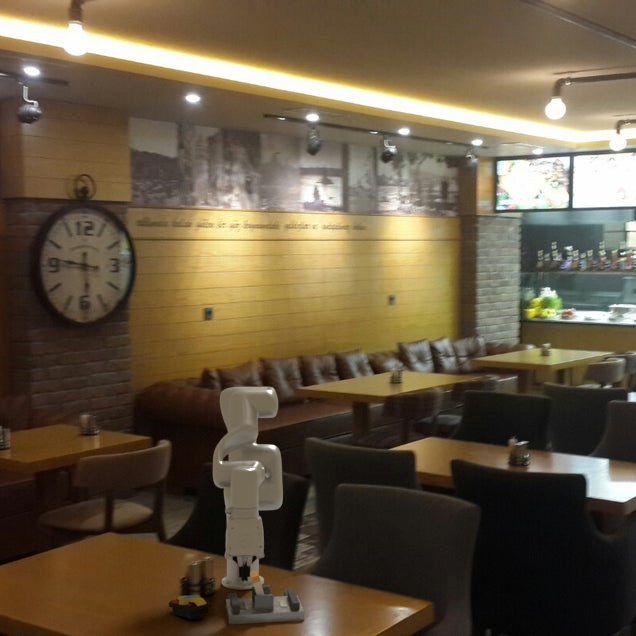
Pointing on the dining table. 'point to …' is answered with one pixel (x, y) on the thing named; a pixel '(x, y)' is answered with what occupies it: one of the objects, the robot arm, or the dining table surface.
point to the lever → (256, 582)
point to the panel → (264, 609)
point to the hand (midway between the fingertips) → (244, 579)
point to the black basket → (190, 606)
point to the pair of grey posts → (288, 593)
